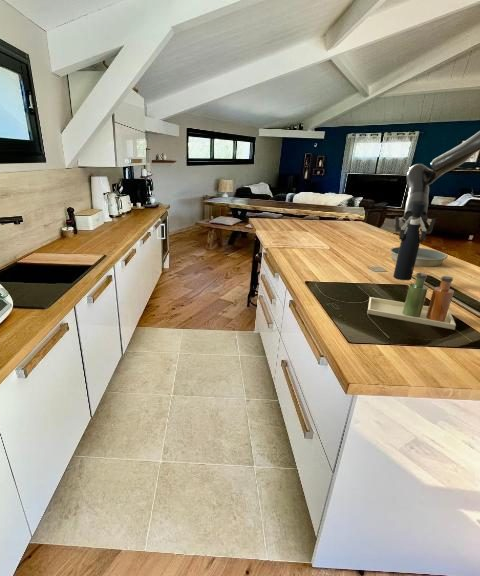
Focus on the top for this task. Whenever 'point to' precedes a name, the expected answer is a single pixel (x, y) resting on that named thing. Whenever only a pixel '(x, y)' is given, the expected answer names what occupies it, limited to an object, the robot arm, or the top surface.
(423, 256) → the cake pan
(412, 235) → the dark grey bottle
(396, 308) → the tray
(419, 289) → the olive bottle
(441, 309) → the amber oil bottle
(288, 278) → the top surface
